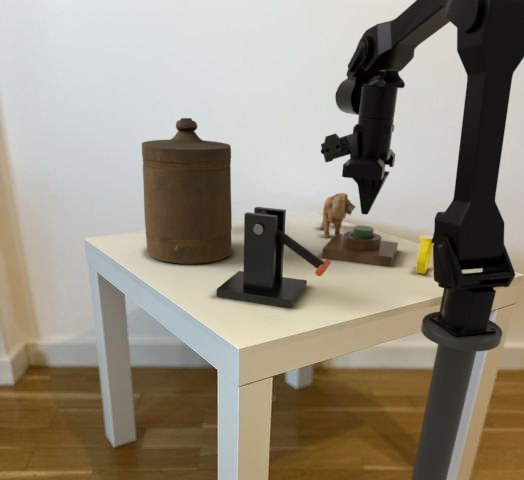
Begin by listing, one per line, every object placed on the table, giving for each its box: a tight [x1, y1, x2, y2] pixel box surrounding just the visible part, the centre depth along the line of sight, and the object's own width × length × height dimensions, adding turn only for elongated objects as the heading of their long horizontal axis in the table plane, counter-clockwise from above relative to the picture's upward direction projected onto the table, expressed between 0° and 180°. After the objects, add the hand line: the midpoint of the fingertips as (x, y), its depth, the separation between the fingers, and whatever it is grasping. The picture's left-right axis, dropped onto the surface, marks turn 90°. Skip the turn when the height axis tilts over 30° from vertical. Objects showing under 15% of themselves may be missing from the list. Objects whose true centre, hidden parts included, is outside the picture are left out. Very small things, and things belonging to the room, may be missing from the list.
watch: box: [415, 234, 433, 275], centre depth 90 cm, size 6×3×6 cm, turn 156°
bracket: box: [216, 206, 308, 309], centre depth 78 cm, size 11×9×12 cm
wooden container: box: [141, 117, 233, 265], centre depth 92 cm, size 15×15×22 cm
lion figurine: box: [318, 192, 356, 238], centre depth 111 cm, size 15×5×9 cm, turn 8°
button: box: [352, 225, 374, 239], centre depth 98 cm, size 4×4×2 cm
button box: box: [321, 230, 399, 267], centre depth 99 cm, size 12×10×4 cm
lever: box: [259, 211, 331, 277], centre depth 76 cm, size 12×5×2 cm, turn 71°
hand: (364, 213), depth 96 cm, fingers closed
